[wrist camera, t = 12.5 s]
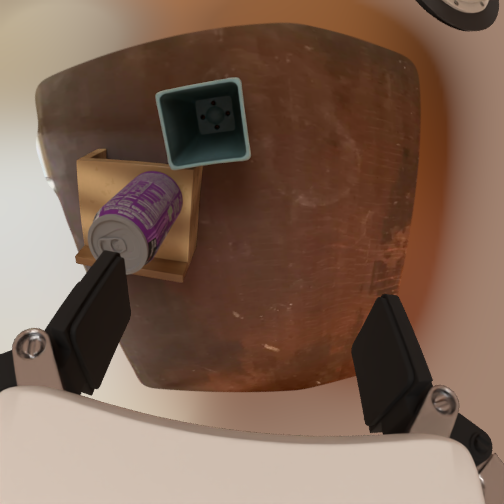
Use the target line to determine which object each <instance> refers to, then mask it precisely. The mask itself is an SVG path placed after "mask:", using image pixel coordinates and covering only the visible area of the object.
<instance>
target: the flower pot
mask: <svg viewBox="0 0 504 504" xmlns="http://www.w3.org/2000/svg"><path fill="white" fill-rule="evenodd" d="M212 101H215V105H212V104H211V102H212ZM156 103H157V108H158V113H159V118H160V122H161V127H162V132H163V137H164V142H165V147H166V152H167V158H168V163H169V166H170V168H171V169H172V170H180V169H185V168H191V167H198V166H204V165H211V164H218V163H226V162H235V161H245V160H248V159H250V157H251V151H250V144H249V138H248V131H247V123H246V116H245V108H244V100H243V92H242V84H241V80H240V79H239V78H227V79H222V80H216V81H210V82H205V83H199V84H194V85H188V86H183V87H179V88H174V89H169V90H164V91H160V92H158V93H157V94H156ZM227 111H229V113H230V114H229V115H226V112H227ZM202 115H204V116H205V118H204V119H202V118H201V116H202ZM216 125H218V126H219V128H218V129H216V128H215V126H216Z"/></svg>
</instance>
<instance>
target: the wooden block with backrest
mask: <svg viewBox="0 0 504 504" xmlns="http://www.w3.org/2000/svg"><path fill="white" fill-rule="evenodd" d="M202 169H203V166H198V167H191V168H185V169H180V170H172V169H171V168H170V166H169V164H161V163H151V162H139V161H126V160H112V159H106V149H97V150H95V151H93V152H91V153H89V154H88V155H86V156H84V157H82V158H80V159H78V160H77V177H78V191H79V202H80V212H81V221H82V229H83V236H84V243H85V246H84V247H83V248H82V249H81V250H80V251H79V252H78V254H77V255H76V256H75V258H76V263H78V264H83V265H88V266H92V265H93V264H94V263H95V261H96V259H95V258H94V256H93V255H92V253H91V251H90V248H89V245H88V231H89V228H90V226H91V225H92V223H93V220H94V217H95V215H96V213H97V212H98V211H99V210H100V209H101V208H102V207H103V206H104V205H105V204H106V203H107V202H108V201H109V200H110V199H111V198H113V197H114V196H115V195H116V194H117V193H118V192H119V191H120V190H122V189H123V188H124V187H125V186H126V185H127V184H128V183H130V182H131V181H132V180H133V179H134V178H135V177H137V176H138V175H139V174H141V173H144V172H147V171H157V172H161V173H164V174H166V175H168V176H169V177H171V178H172V179H173V180H174V181H175V182H176V184H177V185H178V186H179V188H180V191H181V193H182V199H183V204H182V209H181V212H180V214H179V215H178V217H177V219H176V220H175V222H174V224H173V225H172V227H171V229H170V231H169V232H168V234H167V236H166V237H165V239H164V241H163V243H162V244H161V246H160V248H159V250H158V251H157V253H156V255H155V256H154V258H153V259H152V260H151V261H150V262H149V263H148V264H146V265H144V266H143V267H142V268H141V269H140V270H139V271H137V272H135V273H133V274H135V275H140V276H146V277H152V278H157V279H163V280H169V281H175V282H181V283H183V281H184V278H185V275H186V273H187V270H188V267H189V265H190V262H191V259H192V257H193V254H194V251H195V249H196V245H197V230H198V216H199V203H200V191H201V180H202Z"/></svg>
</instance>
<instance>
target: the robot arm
mask: <svg viewBox="0 0 504 504" xmlns="http://www.w3.org/2000/svg"><path fill="white" fill-rule="evenodd" d="M442 1H444V2H445V3H446V4H448V5H449V6H451V7H452V8H454V9H456V10H459V11H461V12H465V13H476V12H480V11H482V10H483V9H485V8H486V6H487V4H488V1H489V0H442ZM130 316H131V309H130V302H129V294H128V286H127V278H126V268H125V260H124V258H123V257H121V255H120V253H118V252H113V251H107V250H104V251H103V252H102V253H101V255H100V256H99V257H98V259H97V260H96V261H95V263H94V264H93V265H92V266H91V268H90V269H89V270H88V272H87V273H86V275H85V276H84V277H83V278H82V280H81V281H80V282H78V283H77V284H76V286H75V287H74V288H73V290H72V291H71V292H70V294H69V295H68V297H67V298H66V300H65V301H64V302H63V304H62V305H61V307H60V308H59V310H58V311H57V313H56V314H55V316H54V317H53V319H52V320H51V322H50V323H49V324H48V326H47V328H46V329H45V331H44V330H41V329H38V328H31V329H27V330H24V331H22V332H21V333H20V334H19V335H18V336H17V337H16V338H15V339H14V342H13V345H12V350H11V351H8V352H5V353H3V354H0V504H504V463H503V462H502V461H501V460H500V458H499V457H498V456H497V454H496V453H494V454H493V455H492V442H491V439H490V437H489V436H488V434H487V433H486V432H484V431H483V430H482V429H480V428H479V427H478V426H476V425H475V424H473V423H472V422H471V421H469V420H468V419H467V418H465V417H464V416H463V415H461V414H460V413H458V412H459V400H458V398H457V396H456V394H455V393H454V392H453V391H452V390H451V389H450V388H448V387H446V386H443V385H435V386H433V385H432V381H433V380H432V377H431V374H430V371H429V369H428V366H427V363H426V361H425V358H424V355H423V353H422V350H421V348H420V345H419V343H418V341H417V338H416V336H415V333H414V331H413V328H412V326H411V324H410V321H409V319H408V317H407V314H406V312H405V310H404V308H403V305H402V303H401V301H400V299H399V297H398V296H396V295H389V294H383V295H382V296H381V297H378V298H377V299H376V301H375V303H374V305H373V307H372V309H371V311H370V313H369V315H368V317H367V319H366V321H365V323H364V325H363V327H362V328H361V330H360V332H359V334H358V336H357V338H356V340H355V341H354V343H353V345H352V357H353V362H354V367H355V372H356V377H357V382H358V387H359V392H360V397H361V403H362V408H363V414H364V420H365V424H366V425H367V426H369V430H370V433H377V432H383V435H363V436H300V435H282V434H268V433H257V432H247V431H239V430H231V429H223V428H216V427H209V426H204V425H198V424H192V423H187V422H181V421H176V420H171V419H167V418H162V417H157V416H153V415H149V414H145V413H141V412H137V411H133V410H129V409H126V408H122V407H118V406H115V405H111V404H107V403H104V402H101V401H97V400H94V399H91V398H88V397H85V396H81V395H80V394H81V392H83V393H86V394H88V395H92V394H93V392H94V389H98V388H99V387H100V385H101V383H102V380H103V378H104V375H105V373H106V371H107V369H108V366H109V364H110V361H111V359H112V357H113V355H114V353H115V350H116V348H117V346H118V344H119V342H120V339H121V337H122V335H123V333H124V331H125V329H126V326H127V324H128V322H129V320H130Z"/></svg>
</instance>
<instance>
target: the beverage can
mask: <svg viewBox="0 0 504 504" xmlns="http://www.w3.org/2000/svg"><path fill="white" fill-rule="evenodd" d="M182 204H183V199H182V193H181V191H180V188H179V186H178V185H177V184H176V182H175V181H174V180H173V179H172V178H171V177H169V176H168V175H166V174H164V173H161V172H157V171H147V172H144V173H141V174H139V175H138V176H137V177H135V178H134V179H133V180H132V181H131V182H130V183H128V184H127V185H126V186H125V187H124V188H123V189H122V190H120V191H119V192H118V193H117V194H116V195H115V196H114V197H113V198H111V199H110V200H109V201H108V202H107V203H106V204H105V205H104V206H103V207H102V208H101V209H100V210H99V211H98V212H97V213H96V215H95V217H94V220H93V223H92V225H91V226H90V228H89V231H88V245H89V248H90V251H91V253H92V255H93V256H94V258H95V259H96V260H97V259H98V257H99V256H100V255H101V253H102V252H103V251H104V250H107V251H113V252H118V253H120V255H121V257H123V258H124V260H125V268H126V275H129V274H133V273H135V272H137V271H139V270H140V269H141V268H142V267H143V266H144V265H146V264H148V263H149V262H150V261H151V260H152V259H153V258H154V256H155V255H156V253H157V251H158V250H159V248H160V246H161V244H162V243H163V241H164V239H165V237H166V236H167V234H168V232H169V231H170V229H171V227H172V225H173V224H174V222H175V220H176V219H177V217H178V215H179V214H180V212H181V209H182Z"/></svg>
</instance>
